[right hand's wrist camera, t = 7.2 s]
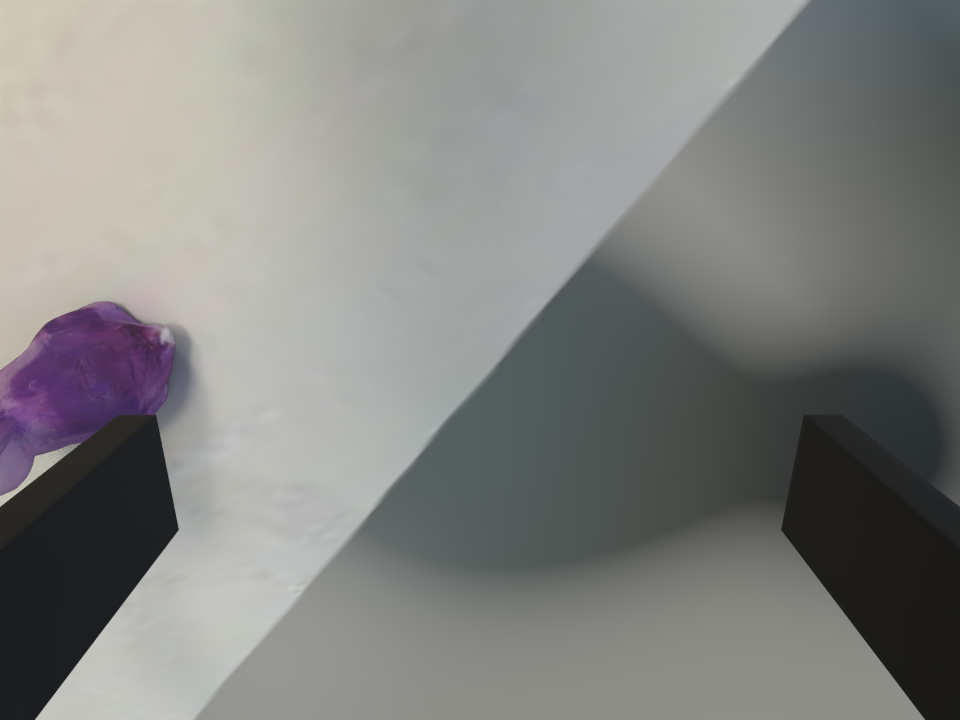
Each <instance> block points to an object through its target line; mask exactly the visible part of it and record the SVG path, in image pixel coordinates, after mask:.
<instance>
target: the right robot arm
mask: <svg viewBox="0 0 960 720" xmlns="http://www.w3.org/2000/svg"><path fill="white" fill-rule="evenodd" d="M178 530H179V528H178V523H177V518H176V513H175V508H174V503H173V498H172V493H171V488H170V483H169V478H168V473H167V468H166V463H165V458H164V453H163V448H162V443H161V437H160V432H159V427H158V422H157V417H156V415H117V416H116V417H115V418H114V419H112V420H111V421H110V422H108V423H107V424H106V425H105V426H103V427H102V428H101V429H99V430H98V431H97V432H96V433H94V434H93V435H92V436H90V437H89V438H88V439H87V440H85V441H84V442H83V443H82V444H80V445H79V446H78V447H76V448H75V449H74V450H73V451H71V452H70V453H69V454H67V455H66V456H65V457H64V458H62V459H61V460H60V461H58V462H57V463H56V464H55V465H53V466H52V467H51V468H49V469H48V470H47V471H46V472H44V473H43V474H42V475H41V476H39V477H38V478H37V479H35V480H34V481H33V482H32V483H30V484H29V485H28V486H26V487H25V488H24V489H23V490H21V491H20V492H19V493H17V494H16V495H15V496H14V497H12V498H11V499H10V500H9V501H7V502H6V503H5V504H3V505H2V506H1V507H0V720H35V719H36V717H37V716H38V715H39V714H40V712H41V711H42V710H43V708H44V707H45V706H46V704H47V703H48V702H49V700H50V699H51V698H52V696H53V695H54V694H55V692H56V691H57V690H58V688H59V687H60V686H61V685H62V683H63V682H64V681H65V679H66V678H67V677H68V675H69V674H70V673H71V671H72V670H73V669H74V667H75V666H76V665H77V663H78V662H79V661H80V659H81V658H82V657H83V655H84V654H85V653H86V652H87V650H88V649H89V648H90V646H91V645H92V644H93V642H94V641H95V640H96V638H97V637H98V636H99V634H100V633H101V632H102V630H103V629H104V628H105V626H106V625H107V624H108V623H109V621H110V620H111V619H112V617H113V616H114V615H115V613H116V612H117V611H118V609H119V608H120V607H121V605H122V604H123V603H124V601H125V600H126V599H127V597H128V596H129V595H130V593H131V592H132V591H133V590H134V588H135V587H136V586H137V584H138V583H139V582H140V580H141V579H142V578H143V576H144V575H145V574H146V572H147V571H148V570H149V568H150V567H151V566H152V564H153V563H154V562H155V561H156V559H157V558H158V557H159V555H160V554H161V553H162V551H163V550H164V549H165V547H166V546H167V545H168V543H169V542H170V541H171V539H172V538H173V537H174V535H175V534H176V533H177V531H178ZM781 530H782V531H783V533H784V534H785V535H786V537H787V538H788V539H789V541H790V542H791V543H792V545H793V546H794V547H795V549H796V550H797V551H798V553H799V554H800V555H801V557H802V558H803V559H804V560H805V562H806V563H807V564H808V566H809V567H810V568H811V570H812V571H813V572H814V574H815V575H816V576H817V578H818V579H819V580H820V582H821V583H822V584H823V586H824V587H825V588H826V590H827V591H828V592H829V593H830V595H831V596H832V597H833V599H834V600H835V601H836V603H837V604H838V605H839V607H840V608H841V609H842V611H843V612H844V613H845V615H846V616H847V617H848V619H849V620H850V621H851V623H852V624H853V625H854V626H855V628H856V629H857V630H858V632H859V633H860V634H861V636H862V637H863V638H864V640H865V641H866V642H867V644H868V645H869V646H870V648H871V649H872V650H873V652H874V653H875V654H876V655H877V657H878V658H879V659H880V661H881V662H882V663H883V665H884V666H885V667H886V669H887V670H888V671H889V673H890V674H891V675H892V677H893V678H894V679H895V681H896V682H897V683H898V685H899V686H900V687H901V688H902V690H903V691H904V692H905V694H906V695H907V696H908V698H909V699H910V700H911V702H912V703H913V704H914V706H915V707H916V708H917V710H918V711H919V712H920V713H921V715H922V716H923V717H924V719H925V720H960V507H959V506H958V505H957V504H955V503H954V502H953V501H951V500H950V499H949V498H948V497H946V496H945V495H944V494H942V493H941V492H940V491H939V490H937V489H936V488H935V487H934V486H932V485H931V484H930V483H928V482H927V481H926V480H925V479H923V478H922V477H921V476H919V475H918V474H917V473H916V472H914V471H913V470H912V469H910V468H909V467H908V466H907V465H905V464H904V463H903V462H901V461H900V460H899V459H898V458H896V457H895V456H894V455H893V454H891V453H890V452H889V451H887V450H886V449H885V448H884V447H882V446H881V445H880V444H878V443H877V442H876V441H875V440H873V439H872V438H871V437H869V436H868V435H867V434H866V433H864V432H863V431H862V430H861V429H859V428H858V427H857V426H855V425H854V424H853V423H852V422H850V421H849V420H848V419H846V418H845V417H844V416H843V415H804V417H803V422H802V427H801V433H800V437H799V443H798V448H797V453H796V458H795V463H794V468H793V473H792V478H791V483H790V488H789V493H788V498H787V503H786V508H785V513H784V518H783V523H782V528H781Z"/></svg>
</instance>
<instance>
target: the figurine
mask: <svg viewBox="0 0 960 720" xmlns="http://www.w3.org/2000/svg"><path fill="white" fill-rule="evenodd" d="M174 353H175V340H174V337H173V334H172V332H171V331H170V329H169V328H168V327H166V326H165V325H163V324H161V323H156V324H142V323H140V322H138V321H136V320H135V319H134V318H133V317H130V316H129V315H128V314H127V313H125V312H124V311H123V310H122V309H121V308H120V307H119V306H117V305H116V304H114V303H111V302H94V303H92V304H89V305H87V306H84V307H82V308H80V309H78V310H76V311H73V312H70V313H67V314H64V315H62V316H59V317H57V318H55V319H53V320H51V321H49V322H48V323H46V324H45V325H44V326H43V327H42V329H41V330H40V331H39V332H38V333H37V334H36V336H35V337H34V339H33V340H32V342H31V344H30V345H29V347H28V348H27V349H26V350H25V351H24V352H23V353H22V354H21V355H20V356H19V357H17V358H16V359H15V360H13V361H12V362H11V363H9V364H8V365H7V366H5V367H4V368H3V369H1V370H0V496H1V495H3V494H6V493H8V492H10V491H13V490H15V489H16V488H17V487H18V486H19V485H20V484H21V483H22V482H23V481H24V480H25V479H26V478H27V476H28V474H29V473H30V471H31V468H32V465H33V462H34V458H35V456H36V455H41V454H44V453H48V452H51V451H54V450H57V449H60V448H63V447H65V446H68V445H71V444H76V443H82V442H84V441H85V440H87V439H88V438H89V437H90V436H92V435H93V434H94V433H96V432H97V431H98V430H99V429H101V428H102V427H103V426H105V425H106V424H107V423H108V422H110V421H111V420H112V419H114V418H115V417H116V416H117V415H154V414H155V413H156V412H157V410H158V409H159V408H160V407H161V406H162V404H163V403H164V402H165V401H166V399H167V395H168V385H167V381H168V379H169V377H170V373H171V370H172V364H173V358H174Z"/></svg>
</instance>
